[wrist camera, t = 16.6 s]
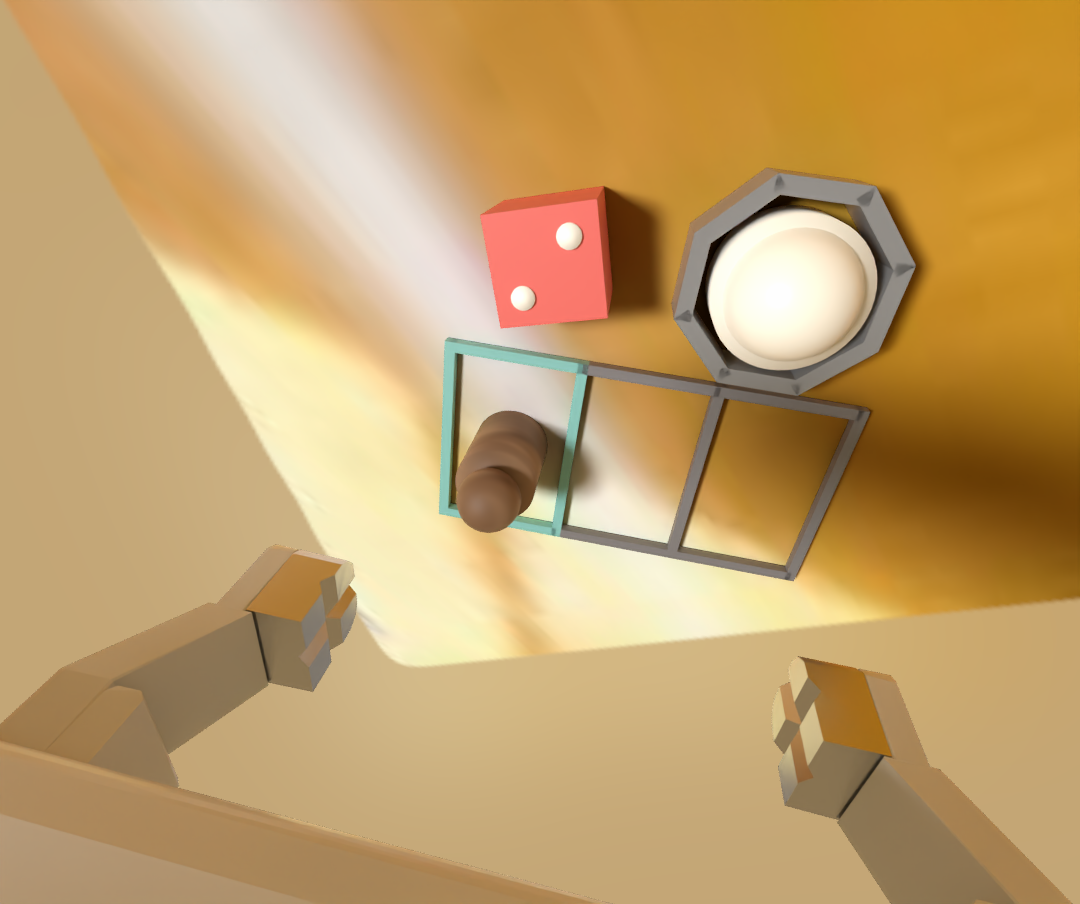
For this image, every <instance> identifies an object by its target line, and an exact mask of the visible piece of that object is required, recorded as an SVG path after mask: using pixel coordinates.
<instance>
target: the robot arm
mask: <svg viewBox="0 0 1080 904" xmlns="http://www.w3.org/2000/svg"><path fill="white" fill-rule="evenodd" d="M354 577H355V576H354V569H353V563H351V562H349V561H346V560H342V559H337V558H333V557H329V556H325V555H321V554H317V553H312V552H308V551H304V550H298V549H294V548H290V547H286V546H281V545H277V544H275V545H273V546H271V547H269V548H268V549H266V550H265V552H263V554H262V555H261V556H260V557H259V558H258V559H257V560H256V561H255V562H254V563H253V565H252V566H251V567H250V568H249V569H248V570H247V571H246V572H245V573H244V575H243V576H242V577H241V578H240V579H239V580H238V581H237V582H236V583H235V584H234V585H233V586H232V588H231V589H230V590H229V591H228V592H227V593H226V594H225V595H224V596H223V597H222V599H221V600H220V601H219V602H218V603H217V604H213V603H207V604H205V605H202V606H200V607H198V608H196V609H193V610H191V611H189V612H187V613H185V614H182V615H180V616H178V617H175V618H173V619H171V620H169V621H166V622H164V623H162V624H160V625H157V626H155V627H153V628H151V629H148V630H146V631H144V632H141V633H139V634H137V635H135V636H132V637H130V638H128V639H126V640H124V641H121V642H119V643H117V644H115V645H112V646H110V647H108V648H106V649H103V650H101V651H99V652H96V653H94V654H92V655H90V656H87V657H85V658H83V659H81V660H78V661H76V662H74V663H71V664H69V665H67V666H65V667H62V668H61V669H59V670H58V671H57V672H56V673H55V674H54V675H53V676H52V677H51V678H50V679H49V680H48V681H47V682H45V683H44V684H43V685H42V686H41V687H40V688H39V689H38V690H37V691H36V692H35V693H33V694H32V695H31V697H29V698H28V699H27V700H26V701H25V702H24V703H23V704H22V705H20V706H19V708H17V709H16V710H15V711H14V712H13V713H12V714H11V715H10V716H9V717H8V718H6V719H5V720H4V721H3V722H2V723H1V724H0V904H611V903H607V902H604V901H600V900H596V899H592V898H589V897H585V896H581V895H578V894H574V893H570V892H566V891H563V890H559V889H555V888H551V887H548V886H544V885H540V884H537V883H533V882H529V881H526V880H522V879H518V878H514V877H511V876H507V875H503V874H499V873H496V872H492V871H488V870H484V869H480V868H477V867H473V866H469V865H466V864H462V863H458V862H454V861H451V860H447V859H443V858H439V857H436V856H432V855H428V854H424V853H421V852H417V851H413V850H409V849H406V848H402V847H398V846H394V845H390V844H387V843H383V842H379V841H376V840H372V839H368V838H365V837H361V836H357V835H353V834H350V833H346V832H342V831H338V830H335V829H330V828H327V827H323V826H320V825H315V824H312V823H308V822H305V821H301V820H297V819H293V818H289V817H286V816H282V815H278V814H275V813H271V812H267V811H263V810H260V809H256V808H252V807H248V806H245V805H241V804H237V803H233V802H230V801H226V800H222V799H218V798H215V797H211V796H207V795H204V794H200V793H196V792H192V791H189V790H185V789H181V788H178V777H177V775H176V772H175V770H174V767H173V765H172V763H171V760H170V758H169V755H168V754H170V753H171V752H173V751H174V750H175V749H177V748H178V747H180V746H181V745H183V744H184V743H186V742H187V741H188V740H190V739H191V738H193V737H194V736H196V735H197V734H198V733H200V732H201V731H203V730H204V729H206V728H207V727H209V726H210V725H212V724H213V723H215V722H216V721H217V720H219V719H220V718H222V717H223V716H225V715H226V714H228V713H229V712H230V711H232V710H233V709H235V708H236V707H238V706H239V705H241V704H242V703H244V702H245V701H246V700H248V699H249V698H251V697H252V696H254V695H255V694H256V693H258V692H259V691H261V690H262V689H264V688H265V687H267V686H268V683H273V684H278V685H283V686H288V687H292V688H297V689H302V690H307V691H311V692H313V691H314V689H315V688H316V686H317V684H318V683H319V681H320V680H321V678H322V676H323V675H324V673H325V671H326V670H327V668H328V666H329V665H330V663H331V655H330V650H331V649H333V648H334V647H336V646H338V645H340V644H341V643H343V642H344V640H345V638H346V637H347V635H348V633H349V631H350V629H351V626H352V624H353V621H354V618H355V615H356V607H357V598H356V593H355V592H354V590H353V589H352V588H351V587H350V586H349V584H350V583H351V581H352V580H353V578H354ZM788 673H789V678H790V682H788V683H786V684H785V685H782V686H780V687H779V690H778V692H777V694H776V697H775V699H774V704H773V710H772V731H773V738H774V742H775V743H776V745H777V746H778V747H779V749H780V750H781V751H782V752H783V754H784V756H783V758H782V760H781V762H780V764H779V766H778V769H779V775H780V780H781V787H782V792H783V798H784V804H785V806H788V807H792V808H796V809H800V810H803V811H807V812H811V813H814V814H818V815H822V816H826V817H829V818H833V819H837V820H839V821H838V822H837V823H838V824H839V826H840V827H841V829H842V830H843V832H844V833H845V835H846V836H847V838H848V840H849V841H850V843H851V844H852V846H853V847H854V848H855V850H856V852H857V853H858V855H859V856H860V858H861V859H862V861H863V862H864V864H865V865H866V867H867V868H868V870H869V871H870V873H871V874H872V876H873V877H874V879H875V881H876V882H877V884H878V885H879V886H880V888H881V890H882V891H883V893H884V894H885V896H886V897H887V899H888V900H889V902H890V903H891V904H1072V903H1071V902H1070V901H1069V900H1068V899H1067V898H1066V897H1065V896H1064V895H1063V894H1062V893H1061V892H1060V891H1059V889H1058V888H1057V887H1055V885H1054V884H1053V883H1052V882H1051V881H1050V880H1049V879H1048V878H1047V877H1046V876H1045V875H1044V874H1043V873H1042V872H1041V871H1040V870H1039V869H1038V868H1037V867H1036V866H1035V865H1034V864H1033V863H1032V862H1031V861H1030V860H1029V859H1028V858H1027V857H1026V856H1025V855H1024V854H1023V853H1022V852H1021V851H1020V850H1019V849H1018V848H1017V847H1016V846H1015V845H1014V844H1013V843H1012V842H1011V841H1010V840H1009V839H1008V838H1007V837H1006V836H1005V835H1004V834H1003V833H1002V832H1001V831H1000V830H999V829H998V828H997V827H996V826H995V825H994V824H993V823H992V822H991V821H990V820H989V819H988V818H987V816H986V815H985V814H984V813H983V812H981V810H980V809H979V808H978V807H977V806H975V804H974V803H973V802H972V801H971V800H970V799H969V798H968V797H967V796H966V795H965V794H964V793H963V792H962V791H961V790H960V789H959V788H958V787H957V786H956V785H955V784H954V783H953V782H952V781H951V780H950V779H949V778H948V777H947V776H946V775H945V774H944V773H943V772H942V771H941V770H940V769H937V768H933V767H930V765H929V763H928V761H927V758H926V755H925V753H924V751H923V748H922V746H921V743H920V740H919V738H918V736H917V733H916V730H915V728H914V726H913V723H912V721H911V718H910V716H909V713H908V711H907V708H906V706H905V703H904V701H903V698H902V696H901V693H900V691H899V688H898V686H897V683H896V681H895V680H894V679H893V678H892V677H891V675H887V674H882V673H877V672H872V671H867V670H862V669H856V668H853V667H848V666H843V665H838V664H833V663H828V662H824V661H819V660H814V659H809V658H804V657H799V656H798V657H797V658H795V659H794V660H793V661H792V663H791V665H790V667H789V669H788Z"/></svg>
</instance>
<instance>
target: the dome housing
mask: <svg viewBox="0 0 1080 904" xmlns="http://www.w3.org/2000/svg"><path fill="white" fill-rule="evenodd" d="M779 195H786V196H793V197H800V198H807V199H814V200H821V201H828V202H836V203H843V204H845V206H846V208H847V210H848V212H849V214H850V216H851V218H852V219H853V221H854V223H855V225H856V227H857V229H858V231H859V233H860V235H861V236H862V238H863V239H864V240H865V242H866V243H867V245H868V247H869V248H870V250H871V253H872V255H873V257H874V260H875V265H876V269H877V290H876V295H875V300H874V303H873V306H872V309H871V311H870V313H869V315H868V317H867V319H866V321H865V322H864V324H863V325H862V327H861V328H860V330H859V331H858V332H857V333H856V335H855V336H854V337H853V338H852V339H851V340H850V341H849V342H848V343H847V344H846V345H845V346H844V347H842V348H841V349H840V350H838V351H837V352H836V353H834V354H833V355H831V356H829V357H828V358H826V359H824V360H822V361H820V362H818V363H815V364H812V365H809V366H806V367H802V368H798V369H791V370H769V369H764V368H759V367H756V366H753V365H751V364H748V363H746V362H744V361H742V360H741V359H739V358H738V357H736V356H735V355H734V354H732V353H731V352H730V351H729V350H723V349H721V348H720V346H719V345H718V343H717V342H716V340H715V339H714V337H713V336H712V334H711V333H710V331H709V329H708V328H707V326H706V325H705V323H704V322H703V320H702V319H701V317H700V316H699V314H698V313H697V311H696V310H695V308H694V307H695V303H696V299H697V295H698V291H699V287H700V283H701V279H702V275H703V271H704V267H705V263H706V260H707V256H708V252H709V248H710V244H711V243H712V242H713V241H715V240H716V239H718V238H719V237H721V236H722V235H723V234H725V233H726V232H728V231H729V230H731V229H732V228H733V227H735V226H736V225H738V224H739V223H741V222H742V221H744V220H745V219H746V218H748V217H749V216H751V215H752V214H754V213H755V212H756V211H758V210H759V209H761V208H762V207H764V206H765V205H766V204H768V203H769V202H771V201H772V200H774V199H775V198H777V197H778V196H779ZM915 267H916V265H915V263H914V261H913V259H912V257H911V255H910V253H909V251H908V249H907V247H906V245H905V243H904V241H903V239H902V237H901V235H900V233H899V231H898V229H897V227H896V225H895V223H894V221H893V219H892V217H891V215H890V213H889V211H888V209H887V207H886V205H885V203H884V201H883V199H882V197H881V195H880V193H879V191H878V189H877V187H876V186H873V185H870V184H867V183H864V182H861V181H858V180H852V179H845V178H838V177H830V176H823V175H816V174H809V173H802V172H795V171H787V170H780V169H773V168H766V169H764V170H763V171H761V172H760V173H759V174H757V175H756V176H755V177H753V178H752V179H750V180H749V181H748V182H746V183H745V184H744V185H742V186H741V187H739V188H738V189H737V190H735V191H734V192H732V193H731V194H730V195H728V196H727V197H726V198H724V199H723V200H721V201H720V202H719V203H717V204H716V205H715V206H713V207H712V208H710V209H709V210H708V211H706V212H705V213H704V214H702V215H701V216H699V217H698V218H697V219H695V220H694V221H692V222H691V223H690V227H689V231H688V235H687V240H686V244H685V248H684V252H683V257H682V261H681V265H680V270H679V274H678V278H677V282H676V287H675V291H674V295H673V299H672V310H673V317H674V320H675V322H676V323H677V325H678V326H679V327H680V329H681V330H682V332H683V333H684V335H685V336H686V338H687V339H688V341H689V342H690V344H691V345H692V347H693V348H694V349H695V351H696V352H697V354H698V355H699V357H700V358H701V360H702V361H703V363H704V364H705V366H706V367H707V369H708V370H709V372H710V373H711V374H712V376H713V377H714V379H715V380H716V382H718V383H723V384H729V385H735V386H741V387H747V388H753V389H759V390H765V391H771V392H777V393H783V394H789V395H795V396H798V395H800V394H801V393H803V392H805V391H807V390H809V389H811V388H813V387H814V386H816V385H818V384H820V383H822V382H824V381H826V380H827V379H829V378H831V377H833V376H835V375H837V374H838V373H840V372H842V371H844V370H846V369H848V368H850V367H851V366H853V365H855V364H857V363H859V362H861V361H863V360H864V359H866V358H868V357H870V356H872V355H874V354H875V353H877V352H879V349H880V347H881V345H882V342H883V340H884V338H885V336H886V333H887V331H888V329H889V326H890V324H891V322H892V320H893V317H894V315H895V313H896V310H897V308H898V306H899V304H900V301H901V299H902V297H903V294H904V292H905V290H906V288H907V285H908V283H909V281H910V278H911V276H912V274H913V272H914V269H915Z"/></svg>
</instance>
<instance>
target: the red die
mask: <svg viewBox="0 0 1080 904" xmlns="http://www.w3.org/2000/svg"><path fill="white" fill-rule="evenodd" d="M480 217H481V222H482V228H483V233H484V239H485V244H486V250H487V255H488V261H489V267H490V272H491V278H492V283H493V289H494V294H495V300H496V305H497V311H498V316H499V322H500V327H501V328H510V327H520V326H531V325H541V324H552V323H562V322H572V321H583V320H593V319H603V318H608V313H609V308H610V302H611V297H612V291H613V286H612V274H611V262H610V250H609V239H608V227H607V215H606V203H605V191H604V186H601V187H594V188H587V189H580V190H573V191H566V192H559V193H552V194H545V195H538V196H531V197H524V198H517V199H510V200H504V201H502V202H501V203H499V204H497V205H496V206H494V207H493V208H491V209H489V210H488V211H486V212H485V213H483V214H481V215H480Z"/></svg>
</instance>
